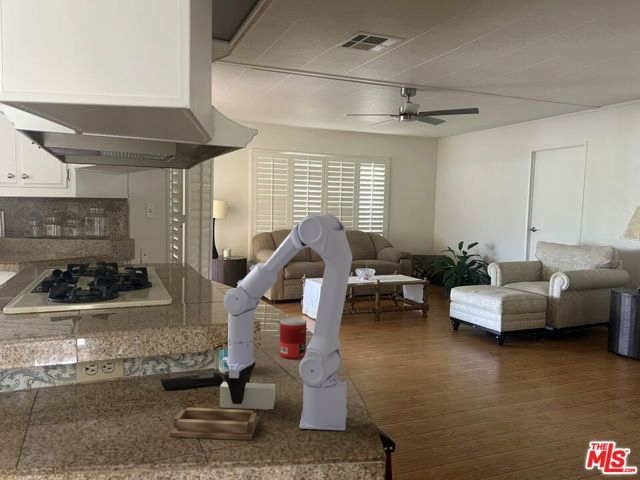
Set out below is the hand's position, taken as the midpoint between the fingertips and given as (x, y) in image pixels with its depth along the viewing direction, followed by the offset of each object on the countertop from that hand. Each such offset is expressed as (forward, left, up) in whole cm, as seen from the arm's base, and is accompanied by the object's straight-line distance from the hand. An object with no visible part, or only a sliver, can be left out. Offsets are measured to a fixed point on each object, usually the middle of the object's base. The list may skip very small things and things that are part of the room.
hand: (239, 398), depth 115 cm
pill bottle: (+6, -23, -2) cm, 24 cm away
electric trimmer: (+14, -11, -2) cm, 18 cm away
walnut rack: (+2, +12, -2) cm, 12 cm away
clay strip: (-2, 0, -2) cm, 3 cm away
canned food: (-8, -39, -2) cm, 40 cm away
